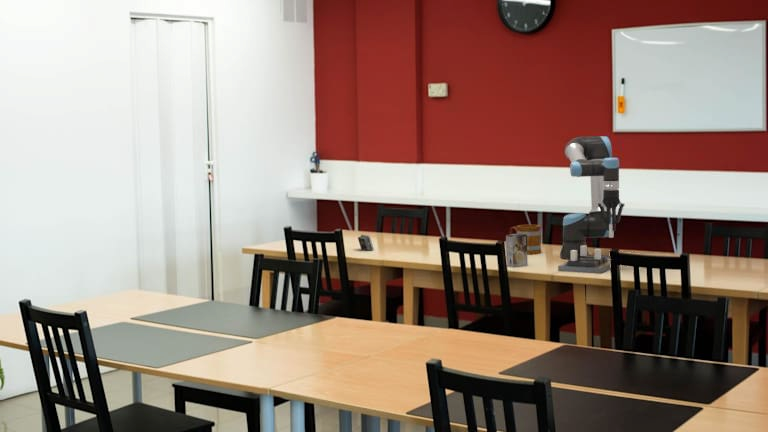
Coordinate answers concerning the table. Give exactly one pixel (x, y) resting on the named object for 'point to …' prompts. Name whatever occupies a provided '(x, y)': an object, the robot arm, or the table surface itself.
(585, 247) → the block
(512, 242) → the coffee box
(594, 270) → the panel
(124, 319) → the table surface
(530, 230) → the mug
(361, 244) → the electrical switch
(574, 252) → the breaker near
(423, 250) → the table surface
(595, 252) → the block
